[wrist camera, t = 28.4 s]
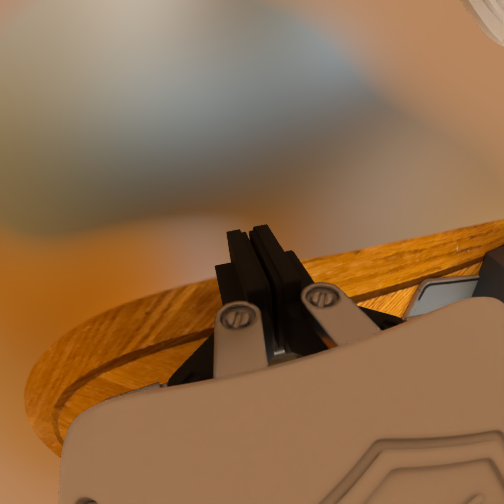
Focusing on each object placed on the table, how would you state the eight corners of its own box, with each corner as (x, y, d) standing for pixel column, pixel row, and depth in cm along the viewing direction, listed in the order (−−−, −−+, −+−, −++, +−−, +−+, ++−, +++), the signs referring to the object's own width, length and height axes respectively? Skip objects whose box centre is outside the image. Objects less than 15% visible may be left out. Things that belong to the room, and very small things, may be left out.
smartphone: (463, 318, 31) (395, 336, 27) (459, 314, 32) (391, 331, 28) (487, 275, 28) (425, 281, 24) (483, 271, 29) (420, 276, 25)
